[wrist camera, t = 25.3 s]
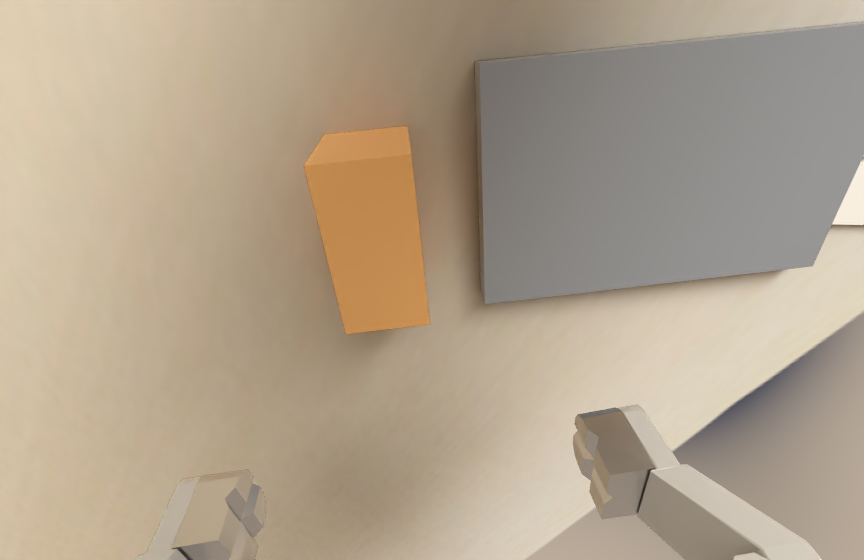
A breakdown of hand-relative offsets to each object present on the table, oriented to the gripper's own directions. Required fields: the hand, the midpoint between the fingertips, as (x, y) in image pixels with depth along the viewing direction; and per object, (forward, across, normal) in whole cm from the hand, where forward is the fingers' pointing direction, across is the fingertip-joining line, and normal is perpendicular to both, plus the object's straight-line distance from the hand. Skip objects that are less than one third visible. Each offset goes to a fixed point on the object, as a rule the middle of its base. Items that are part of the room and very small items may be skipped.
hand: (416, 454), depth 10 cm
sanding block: (+17, +1, 0) cm, 17 cm away
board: (+16, -16, +1) cm, 23 cm away
